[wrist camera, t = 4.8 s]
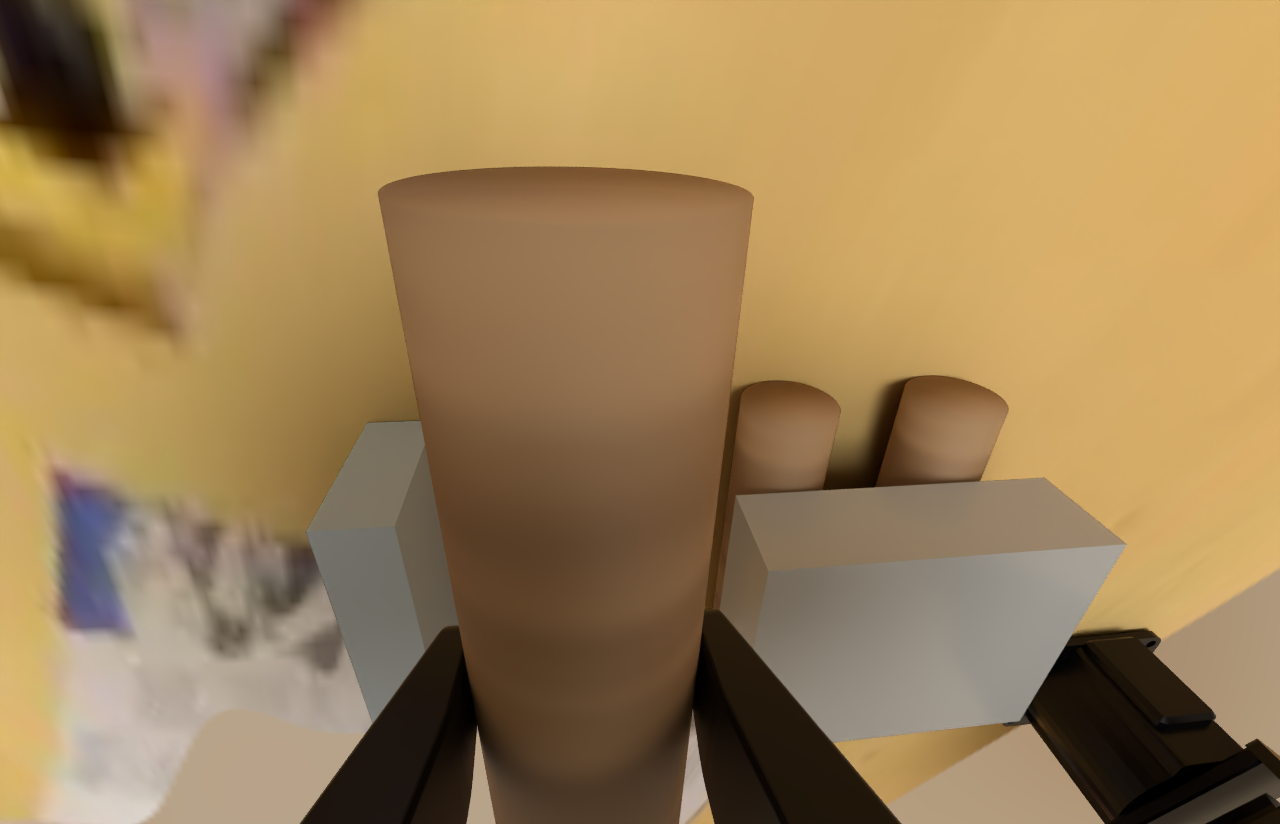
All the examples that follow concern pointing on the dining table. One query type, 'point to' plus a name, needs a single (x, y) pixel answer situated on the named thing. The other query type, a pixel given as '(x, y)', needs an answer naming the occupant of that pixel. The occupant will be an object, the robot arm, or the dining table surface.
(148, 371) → the dining table surface
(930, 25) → the dining table surface
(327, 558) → the bar
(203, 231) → the dining table surface
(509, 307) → the roller
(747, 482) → the roller track
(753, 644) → the slab
